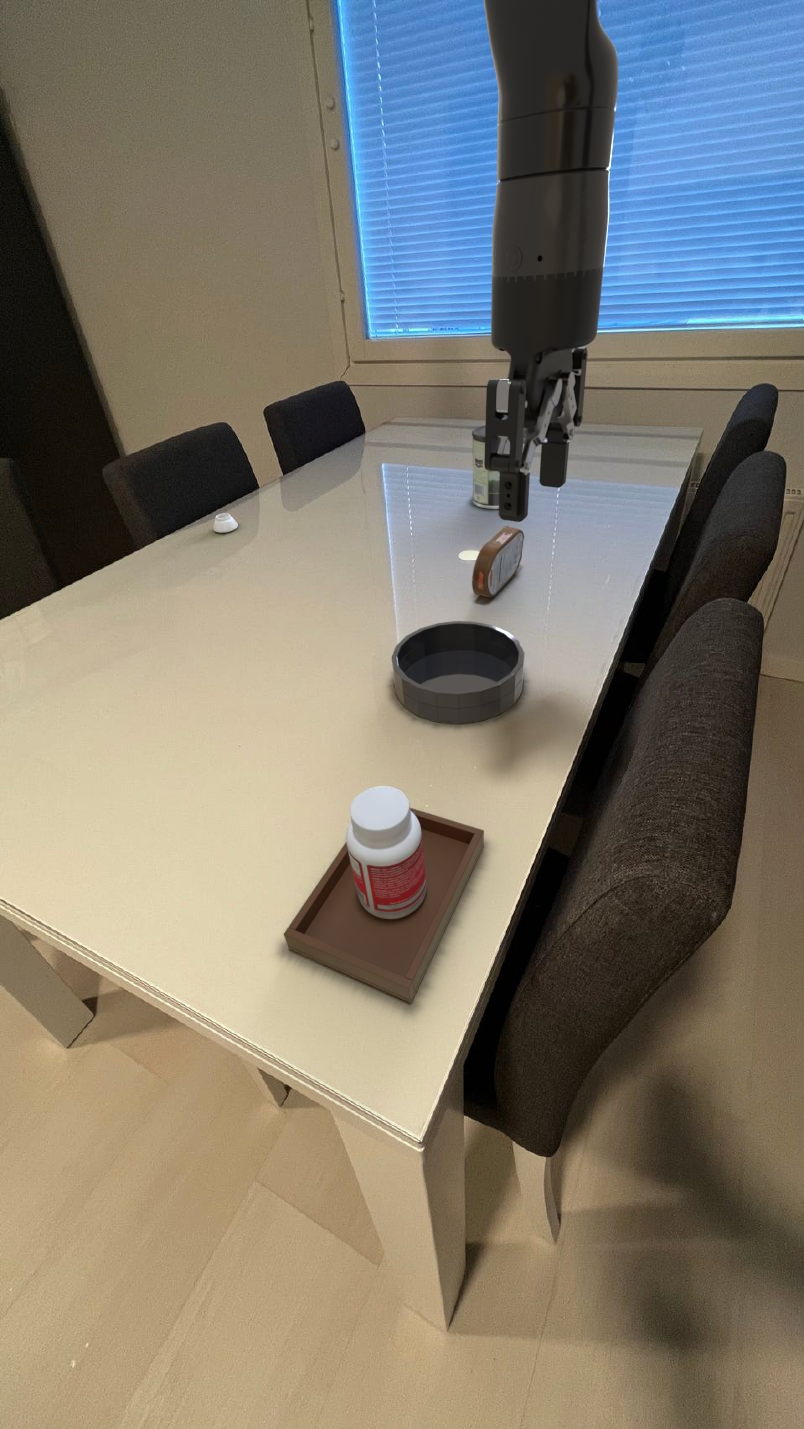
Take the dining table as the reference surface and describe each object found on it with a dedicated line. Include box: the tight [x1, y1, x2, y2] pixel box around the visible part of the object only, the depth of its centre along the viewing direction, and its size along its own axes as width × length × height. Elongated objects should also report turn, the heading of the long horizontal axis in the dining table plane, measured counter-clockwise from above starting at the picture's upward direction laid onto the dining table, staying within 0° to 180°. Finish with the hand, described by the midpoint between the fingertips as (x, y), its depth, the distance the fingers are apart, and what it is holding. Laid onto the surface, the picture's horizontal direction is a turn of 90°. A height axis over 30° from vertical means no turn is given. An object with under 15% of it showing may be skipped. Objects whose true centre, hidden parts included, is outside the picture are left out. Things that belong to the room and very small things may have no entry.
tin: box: [471, 525, 525, 598], centre depth 96 cm, size 15×3×8 cm, turn 149°
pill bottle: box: [345, 785, 427, 919], centre depth 50 cm, size 6×6×11 cm
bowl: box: [391, 620, 526, 725], centre depth 77 cm, size 16×16×4 cm
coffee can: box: [471, 424, 524, 510], centre depth 124 cm, size 10×10×14 cm
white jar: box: [212, 512, 239, 534], centre depth 127 cm, size 5×3×5 cm
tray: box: [283, 807, 485, 1004], centre depth 53 cm, size 16×11×2 cm
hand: (533, 501), depth 51 cm, fingers open, 8 cm apart
